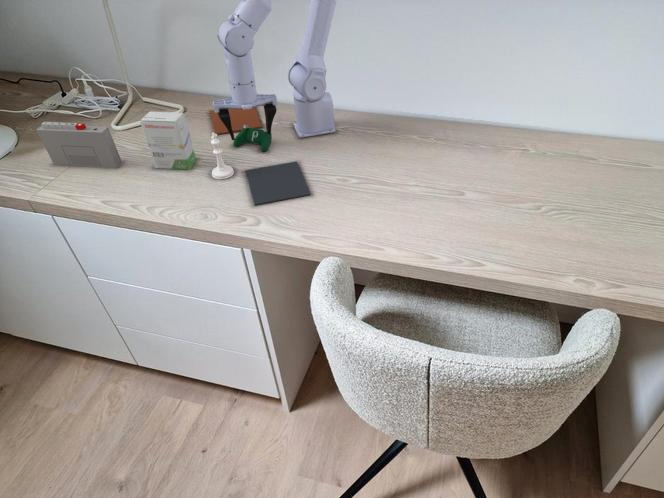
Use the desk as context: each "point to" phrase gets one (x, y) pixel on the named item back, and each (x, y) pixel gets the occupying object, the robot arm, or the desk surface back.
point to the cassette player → (79, 145)
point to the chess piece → (220, 161)
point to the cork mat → (236, 120)
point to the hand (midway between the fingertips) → (250, 136)
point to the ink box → (168, 140)
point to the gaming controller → (253, 137)
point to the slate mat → (276, 183)
